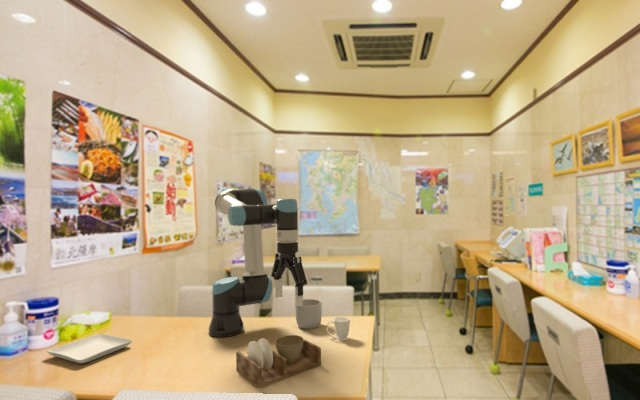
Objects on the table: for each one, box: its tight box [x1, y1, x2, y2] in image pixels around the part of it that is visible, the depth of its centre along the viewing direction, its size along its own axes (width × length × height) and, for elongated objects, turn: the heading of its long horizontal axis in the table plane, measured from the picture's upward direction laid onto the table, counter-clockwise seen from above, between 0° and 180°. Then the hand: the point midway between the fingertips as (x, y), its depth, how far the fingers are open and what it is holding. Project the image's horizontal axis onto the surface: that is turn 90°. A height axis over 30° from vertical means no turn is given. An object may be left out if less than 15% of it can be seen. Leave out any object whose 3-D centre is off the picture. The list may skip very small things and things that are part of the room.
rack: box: [235, 339, 322, 388], centre depth 121 cm, size 16×24×6 cm, turn 128°
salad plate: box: [46, 333, 133, 364], centre depth 139 cm, size 21×21×3 cm
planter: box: [294, 298, 323, 330], centre depth 164 cm, size 12×12×11 cm
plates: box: [246, 337, 273, 370], centre depth 117 cm, size 10×4×10 cm, turn 38°
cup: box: [326, 316, 351, 342], centre depth 147 cm, size 7×10×8 cm
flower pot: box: [274, 334, 305, 363], centre depth 124 cm, size 10×10×7 cm
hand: (288, 300), depth 127 cm, fingers open, 13 cm apart
